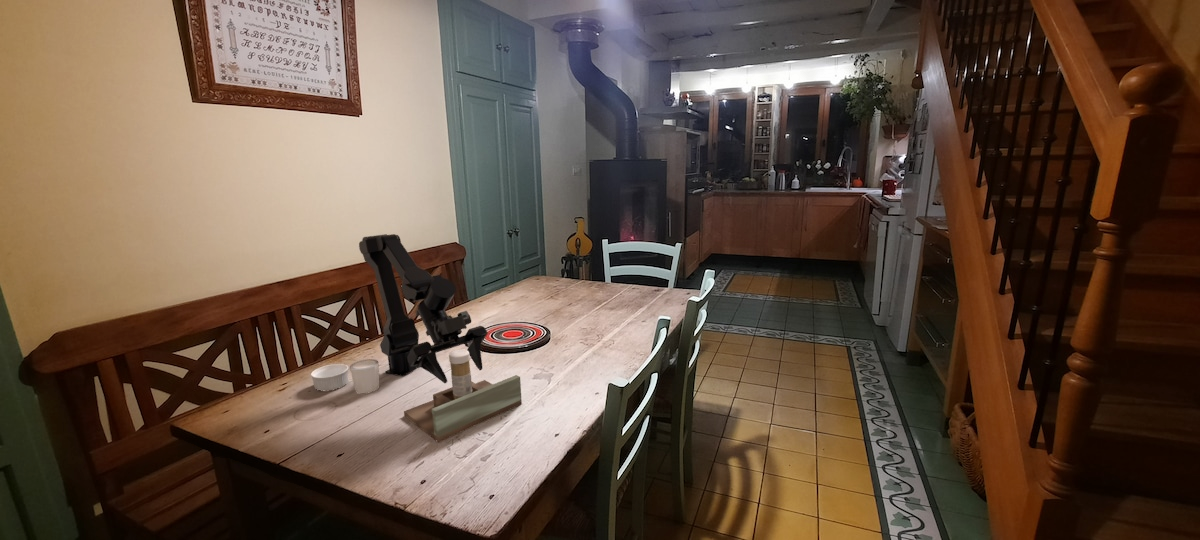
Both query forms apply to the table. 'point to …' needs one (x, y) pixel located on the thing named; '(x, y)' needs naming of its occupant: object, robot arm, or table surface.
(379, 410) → the table surface
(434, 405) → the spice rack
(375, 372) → the shot glass
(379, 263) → the robot arm
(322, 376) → the ramekin
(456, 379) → the sprinkles bottle
